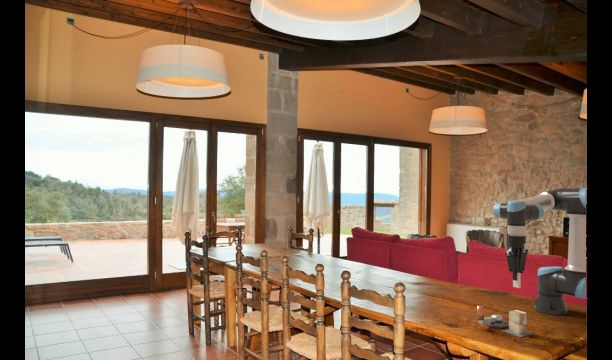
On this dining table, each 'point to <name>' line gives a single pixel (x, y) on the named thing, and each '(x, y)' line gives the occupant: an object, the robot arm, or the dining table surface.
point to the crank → (487, 319)
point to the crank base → (498, 325)
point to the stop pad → (517, 334)
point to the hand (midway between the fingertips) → (516, 287)
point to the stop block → (517, 322)
